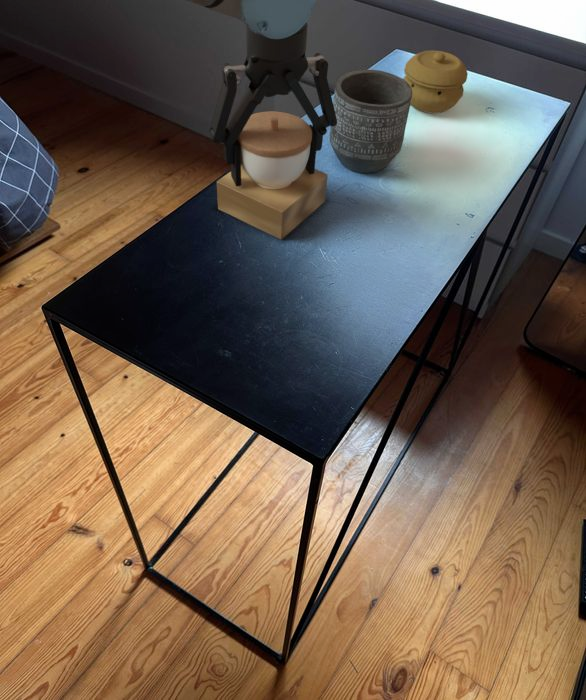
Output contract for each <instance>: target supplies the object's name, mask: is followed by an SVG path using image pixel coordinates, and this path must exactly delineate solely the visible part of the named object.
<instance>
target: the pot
mask: <svg viewBox="0 0 586 700" xmlns="http://www.w3.org/2000/svg"><path fill="white" fill-rule="evenodd" d="M465 65H466V64H464V63H463V61H462V60H461V59H460V58H459V57H457V56H456V55H454V54H453V53H450V52H446V51H442V50H423V51H420V52H418V53H416V54H415V55H413V56H412V57H411V58H410V59H408V60H407V62H406V63H405V66H404V69H403V70H404V75H405V76H404V77H403V78H402V79H404V80H405V81H406V82H407V83H408V84H409V85H410V86H411V88H412V98H411V104H410V107H412V108H414V109H415V110H418V111H421V112H424V113H429V114H430V113H431V114H439V113H443V112H446V111H449V110H450V109H452V108H453V107H455V106H456V104H457V103H458V102H459V101H460V100H461V98H463V96H464V93H465V89H464V88H465V87H464V84H465V83H466V82H467V79H468V74H469V73H468V70H467V67H466V66H465Z"/></svg>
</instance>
